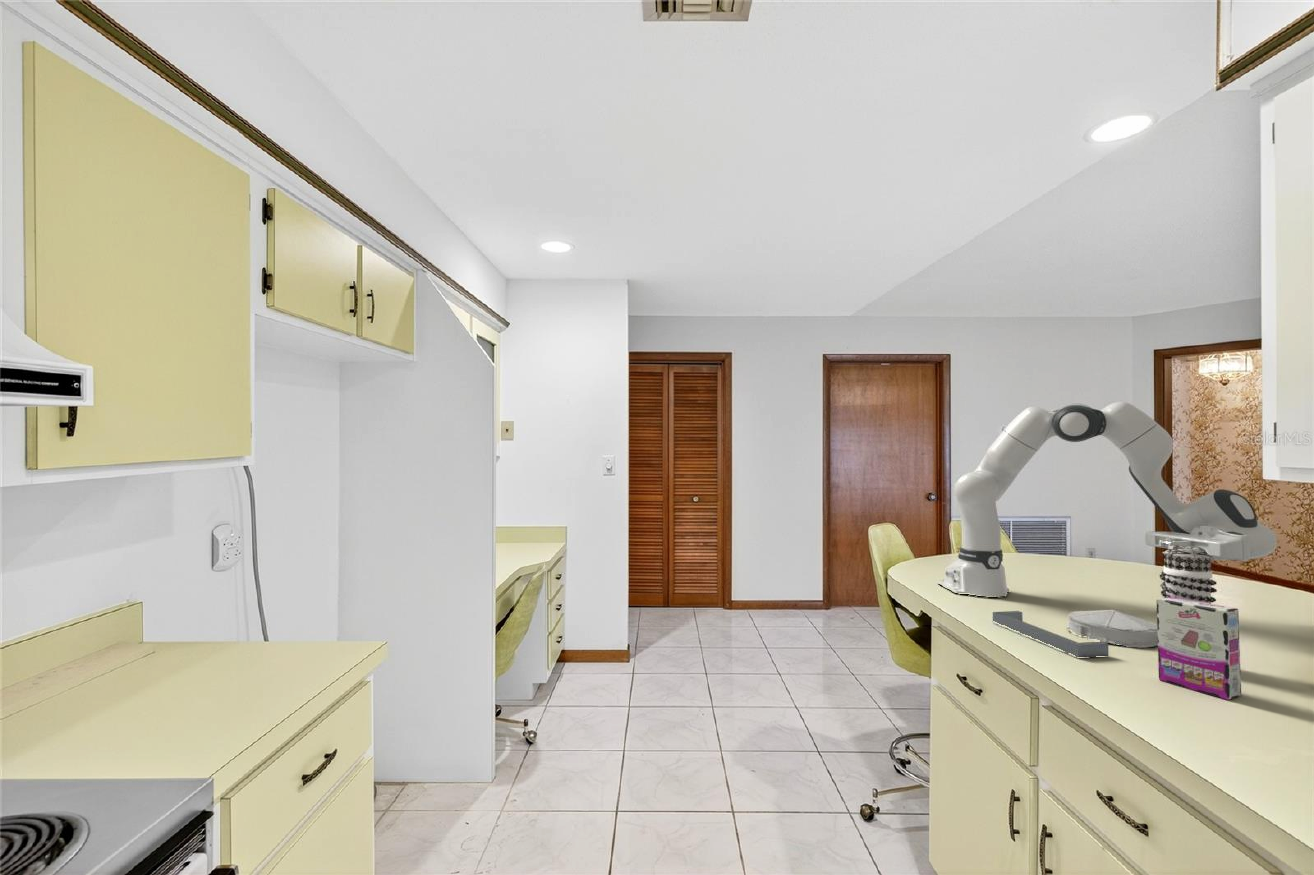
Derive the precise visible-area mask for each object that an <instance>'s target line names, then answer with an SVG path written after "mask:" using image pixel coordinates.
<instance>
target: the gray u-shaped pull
mask: <svg viewBox="0 0 1314 875" xmlns="http://www.w3.org/2000/svg"><path fill="white" fill-rule="evenodd" d="M993 621H995V622H997V623H999V624H1001V625H1005V626H1007V627H1009V628H1011V629H1013V630H1016V631H1019V632H1020V633H1022V634H1025V635H1028V636H1031V637H1032V638H1034V639H1038V640H1040V641H1042V642H1044V643H1046V644H1050V645H1052V646H1054V647H1056V648H1059V649H1061V650H1063V651H1065V652H1067V653H1071V654H1073V655H1075V656H1076V657H1096V656H1110V655H1109V643H1108V642H1103V641H1100V642H1094V641H1085V642H1077V641H1075V640H1072V639H1069V638H1067V637H1065V636H1062V635H1060V634H1058V633H1053V632H1052V631H1048V630H1046V629H1043V628H1042V627H1038V626H1037V625H1033V624H1031V623H1028V622H1025V621H1024V620H1023V612H1022V611H1019V610H1007V611H993V612H992V622H993Z"/></svg>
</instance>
